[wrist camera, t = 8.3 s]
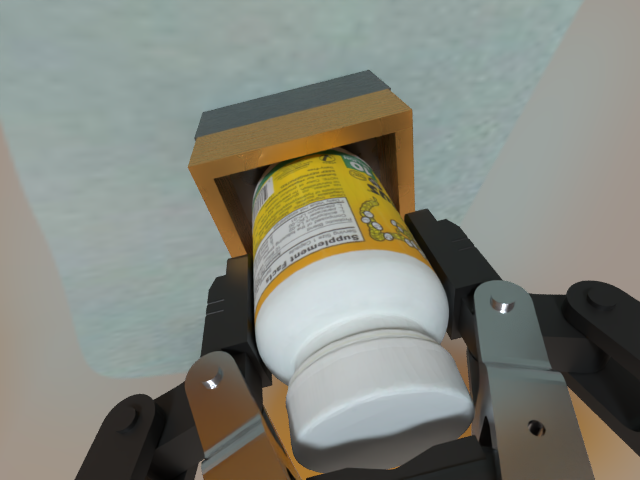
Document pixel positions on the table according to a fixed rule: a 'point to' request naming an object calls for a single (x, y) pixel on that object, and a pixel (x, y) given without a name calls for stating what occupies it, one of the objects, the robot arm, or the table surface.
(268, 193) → the supplement bottle
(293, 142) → the orange open box frame
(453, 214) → the table surface
